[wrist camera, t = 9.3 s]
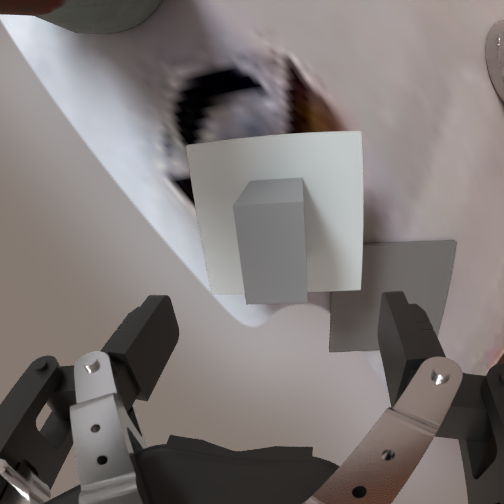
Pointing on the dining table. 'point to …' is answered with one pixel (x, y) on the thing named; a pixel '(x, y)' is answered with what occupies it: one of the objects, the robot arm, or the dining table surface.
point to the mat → (391, 289)
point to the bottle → (85, 13)
